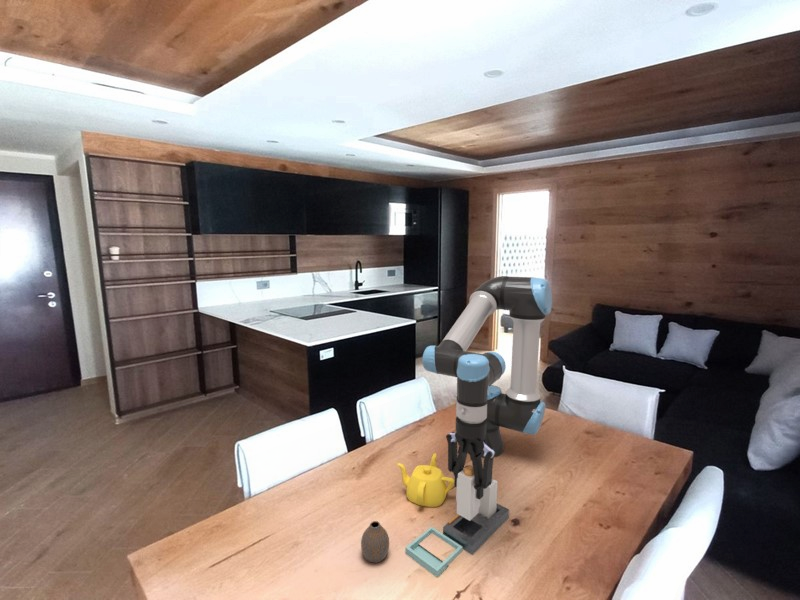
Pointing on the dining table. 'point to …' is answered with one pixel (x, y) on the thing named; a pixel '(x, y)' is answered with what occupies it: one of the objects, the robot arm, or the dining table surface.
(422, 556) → the tray
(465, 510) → the plug
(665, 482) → the dining table surface
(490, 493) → the twin plug
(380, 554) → the vase
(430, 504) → the teapot
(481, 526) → the grey socket base
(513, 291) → the robot arm
